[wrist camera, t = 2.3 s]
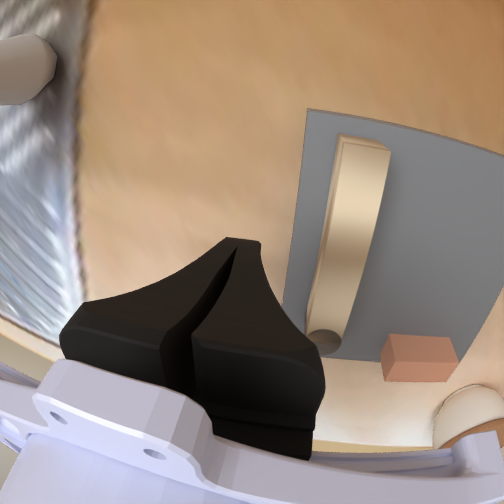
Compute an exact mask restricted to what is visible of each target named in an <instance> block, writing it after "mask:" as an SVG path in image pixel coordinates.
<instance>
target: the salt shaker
mask: <svg viewBox="0 0 504 504" xmlns="http://www.w3.org/2000/svg"><path fill="white" fill-rule="evenodd" d="M57 58H58V56H57V55H56V53H55V52H54V50H53V49H52V47H51V45H50V44H49V43H48V42H47V41H45V40H44V39H42V38H41V37H39V36H38V35H36V34H21V35H17V36H14V37H11V38H7V39H4V40H1V41H0V105H21V104H23V103H25V102H27V101H29V100H30V99H32V98H34V97H35V96H36V95H37V94H38V93H39V92H40V91H41V90H42V89H43V87H44V86H45V85H46V84H47V83H48V82H50V81H51V80H52V79H53V78H54V74H55V68H56V63H57Z"/></svg>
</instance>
